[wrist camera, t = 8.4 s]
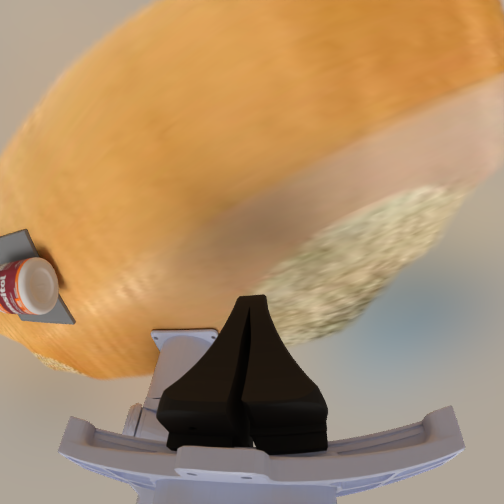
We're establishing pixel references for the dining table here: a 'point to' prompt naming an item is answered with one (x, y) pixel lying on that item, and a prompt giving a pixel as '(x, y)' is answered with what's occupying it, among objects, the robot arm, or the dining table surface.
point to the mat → (23, 248)
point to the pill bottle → (28, 287)
